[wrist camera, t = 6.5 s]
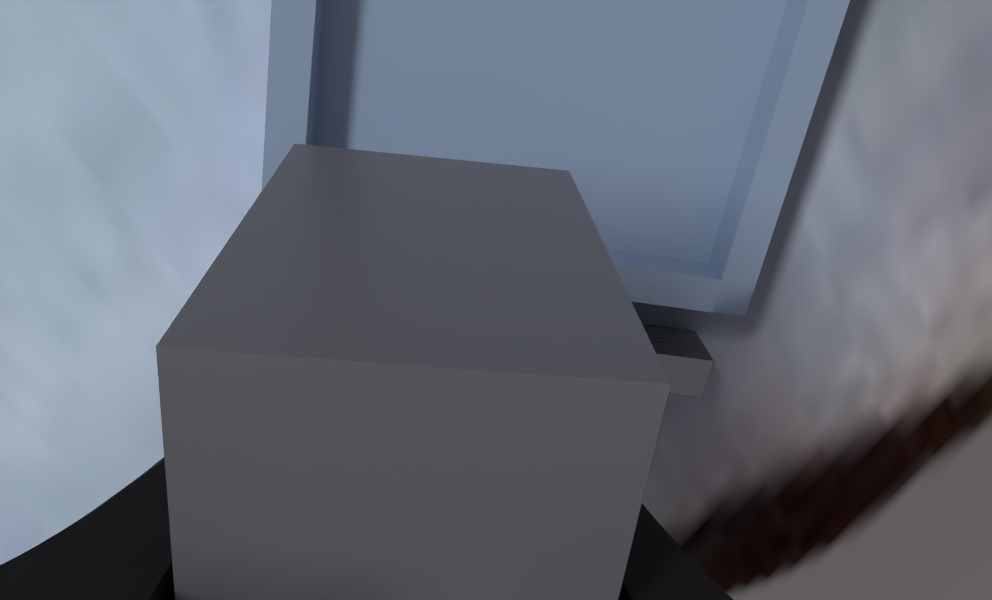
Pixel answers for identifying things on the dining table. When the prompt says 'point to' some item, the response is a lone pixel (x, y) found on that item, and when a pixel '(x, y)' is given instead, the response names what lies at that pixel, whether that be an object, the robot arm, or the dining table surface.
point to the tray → (579, 111)
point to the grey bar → (408, 391)
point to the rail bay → (681, 359)
